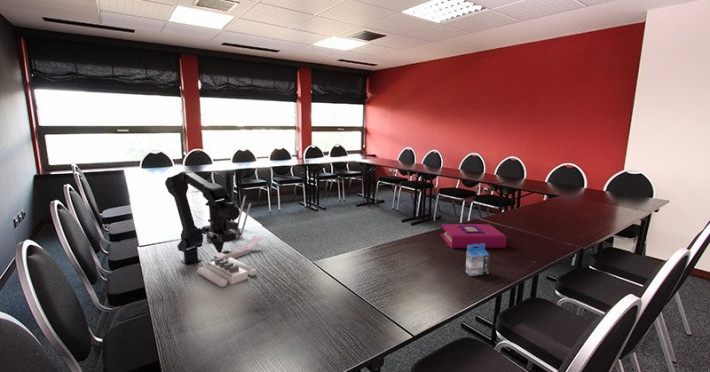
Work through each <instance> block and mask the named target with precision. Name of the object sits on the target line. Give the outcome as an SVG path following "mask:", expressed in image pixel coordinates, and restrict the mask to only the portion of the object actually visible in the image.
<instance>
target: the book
mask: <svg viewBox="0 0 710 372" xmlns="http://www.w3.org/2000/svg"><path fill="white" fill-rule="evenodd" d="M440 225H441V226H440V228H441V229H442V230H444V231H445V232H443V233H440V237H441V238H442V239H443V241H445V242H446V244H447V245H448V246H449V247H450V248H451V249H461V248H462V249H467V245H475V244H485V248H484V249H493V248H494V249H499V248H501V249H505V248H506V247H507V235H506V234H504V233H502V232H501V231H500V230H499V229H497V228H495V226H493V225H491V224H489V223H483V224H481V223H480V224H479V223H476V224H475V223H473V224H472V223H471V224H470V223H466V224H464V223H463V224H462V223H461V224H459V223H458V224H457V223H456V224H449V223H442V224H440ZM473 248H479V247H477V246H476V247H473Z"/></svg>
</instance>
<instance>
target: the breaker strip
mask: <svg viewBox="0 0 710 372" xmlns="http://www.w3.org/2000/svg"><path fill="white" fill-rule="evenodd" d="M213 259H214V258H213ZM206 269H208V270H210V271H211V272H213V273H215V274H216V275H218V276H220V277H222V278H223V279H225V280H226V281H227V283H229V284H230V285H235V284H236V283H239V282H242V281H245V280H246V279H248V278H249V274H248V273H247V271H246V270H244V269H242V268H240V267H239V266H238V265H234V263H232V262H229V261H228V260H224V258H222V257H221V258H217V259H214V261H207V262H206Z"/></svg>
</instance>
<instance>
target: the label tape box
mask: <svg viewBox="0 0 710 372" xmlns="http://www.w3.org/2000/svg"><path fill="white" fill-rule="evenodd" d="M476 246H477V247H479V248H473V247H476ZM465 255H466V256H465V257H466V260H465V273H466V274H467V275H468V276H470V277H474V276H475V277H476V276H479V275H480V276H481V275H488V274H489V272H490V257H491V256H490V254H489V252H488V251H487V250H486V248H485V244H475V245H467V248H466V254H465Z"/></svg>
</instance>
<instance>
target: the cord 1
mask: <svg viewBox="0 0 710 372" xmlns="http://www.w3.org/2000/svg"><path fill="white" fill-rule="evenodd" d="M197 273H198V274H199V275H200V276H202V277H204V278H206V280H208V281H210V282H212V283H214V284H215V285H217V286H219V287H220V288H225V287H226V286H227V284H228V282H227V281H226V280H225V279H223V278H222V277H220V276H218V275H216V274H215V273H213V272H211V271H210V270H208V269H207V267H204V266H199V267H198V269H197Z"/></svg>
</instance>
